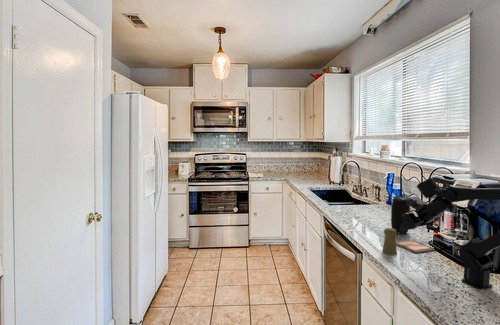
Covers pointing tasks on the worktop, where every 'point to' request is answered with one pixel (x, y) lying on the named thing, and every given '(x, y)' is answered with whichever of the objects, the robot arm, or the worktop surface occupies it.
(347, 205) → the worktop surface
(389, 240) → the cork
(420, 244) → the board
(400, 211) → the portable speaker
